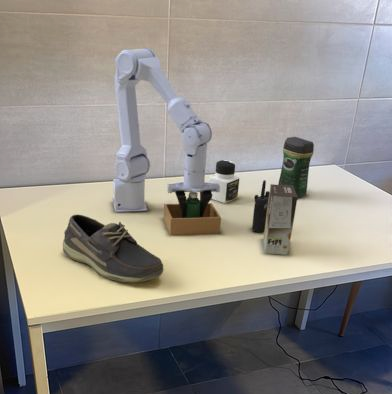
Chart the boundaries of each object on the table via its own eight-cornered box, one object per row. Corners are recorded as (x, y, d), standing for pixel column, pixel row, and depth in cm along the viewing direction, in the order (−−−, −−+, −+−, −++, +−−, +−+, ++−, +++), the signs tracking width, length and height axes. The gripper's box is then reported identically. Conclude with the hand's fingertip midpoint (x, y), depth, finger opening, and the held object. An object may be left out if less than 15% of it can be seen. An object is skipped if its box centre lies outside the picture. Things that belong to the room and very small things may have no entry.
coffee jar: (309, 196, 183) (319, 140, 174) (294, 200, 179) (303, 143, 169) (288, 187, 189) (297, 133, 180) (273, 191, 185) (280, 136, 175)
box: (170, 235, 149) (170, 219, 147) (163, 219, 158) (163, 203, 156) (219, 233, 152) (221, 217, 150) (210, 217, 161) (211, 203, 159)
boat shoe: (144, 294, 121) (145, 251, 115) (48, 257, 133) (45, 216, 128) (171, 276, 129) (173, 234, 123) (79, 242, 141) (77, 203, 136)
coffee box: (288, 255, 143) (298, 197, 134) (264, 253, 143) (272, 195, 134) (285, 240, 151) (294, 185, 142) (262, 239, 150) (269, 183, 142)
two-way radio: (258, 234, 153) (265, 182, 146) (245, 229, 156) (251, 178, 148) (269, 229, 157) (277, 178, 149) (257, 224, 159) (263, 174, 152)
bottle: (185, 228, 152) (186, 196, 148) (181, 221, 156) (183, 190, 151) (201, 227, 153) (203, 195, 149) (197, 221, 157) (199, 190, 152)
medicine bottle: (225, 203, 172) (228, 166, 166) (207, 198, 175) (210, 161, 169) (237, 198, 177) (241, 162, 171) (219, 192, 180) (223, 157, 174)
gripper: (170, 174, 142) (169, 222, 149) (224, 173, 145) (220, 221, 152) (166, 165, 147) (164, 212, 154) (217, 165, 151) (214, 211, 158)
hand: (191, 216), depth 154 cm, fingers closed on bottle, 5 cm apart
